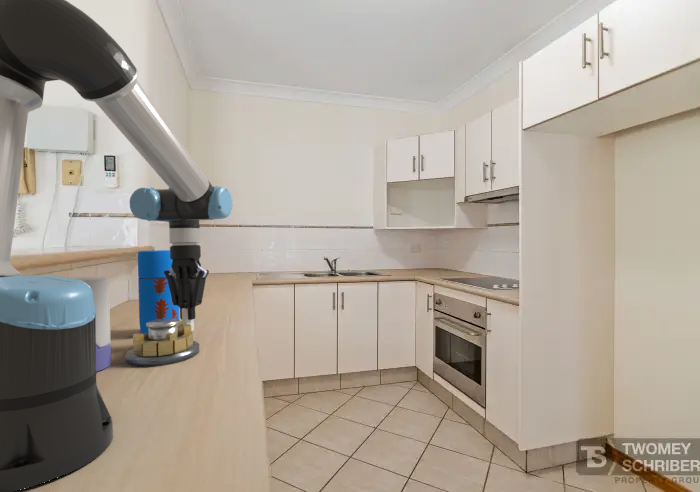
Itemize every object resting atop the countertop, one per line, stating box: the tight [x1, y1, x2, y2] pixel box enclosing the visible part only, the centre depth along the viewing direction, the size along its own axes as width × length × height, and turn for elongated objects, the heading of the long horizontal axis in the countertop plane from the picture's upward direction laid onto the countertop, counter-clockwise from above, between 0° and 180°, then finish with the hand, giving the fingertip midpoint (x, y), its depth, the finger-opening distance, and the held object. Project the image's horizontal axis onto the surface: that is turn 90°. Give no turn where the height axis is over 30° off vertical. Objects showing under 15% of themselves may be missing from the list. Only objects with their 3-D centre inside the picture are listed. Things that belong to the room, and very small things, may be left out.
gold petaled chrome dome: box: [132, 320, 194, 357], centre depth 91 cm, size 19×13×4 cm
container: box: [73, 276, 112, 373], centre depth 79 cm, size 10×10×20 cm
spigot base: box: [125, 318, 200, 368], centre depth 88 cm, size 17×16×8 cm
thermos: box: [137, 249, 180, 334], centre depth 110 cm, size 11×11×25 cm
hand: (188, 331), depth 98 cm, fingers closed
